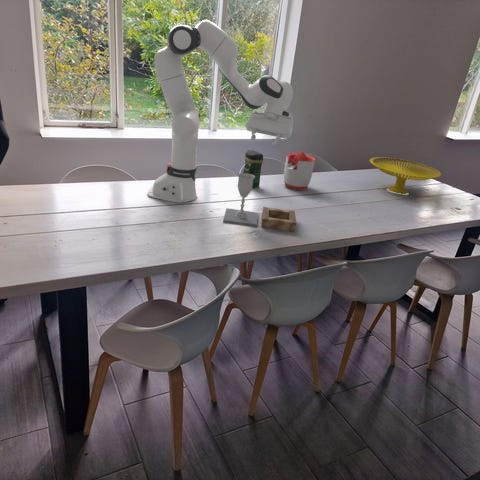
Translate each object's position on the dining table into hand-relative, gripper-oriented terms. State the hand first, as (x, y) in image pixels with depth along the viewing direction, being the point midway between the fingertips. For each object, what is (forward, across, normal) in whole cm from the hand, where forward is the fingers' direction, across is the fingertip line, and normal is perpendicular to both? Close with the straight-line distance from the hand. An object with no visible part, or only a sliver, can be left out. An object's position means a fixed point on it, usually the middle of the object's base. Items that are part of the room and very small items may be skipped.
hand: (262, 141), depth 181 cm
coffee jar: (-1, -15, +45) cm, 48 cm away
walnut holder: (+27, +14, +17) cm, 35 cm away
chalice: (+30, -1, +13) cm, 33 cm away
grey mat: (+31, -1, +13) cm, 34 cm away
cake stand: (-40, +56, +85) cm, 109 cm away
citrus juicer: (-12, +5, +56) cm, 58 cm away
